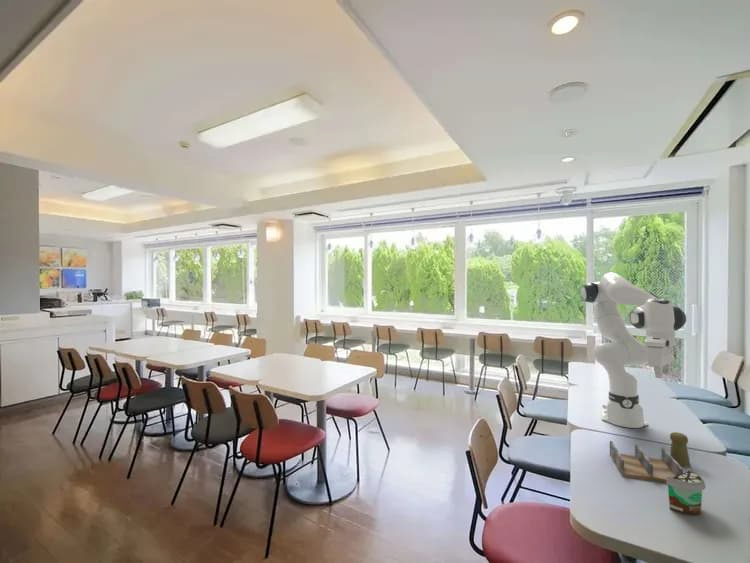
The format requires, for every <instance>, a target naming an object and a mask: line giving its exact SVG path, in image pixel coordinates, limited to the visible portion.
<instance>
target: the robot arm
mask: <svg viewBox="0 0 750 563" xmlns="http://www.w3.org/2000/svg"><path fill="white" fill-rule="evenodd" d="M599 280H600V281H594V282H588V283H585V284H583V285H582V287H581V290H580V295H581V297H582V300H583V301H585V303H592V304H593V303H594V305H593V313H594V318H595V321H596V324H597V326H598V329H599V331H600V332H599V333H600V334H601V335H602V337H603V338H605V339H606V340H610V341H611V342H603V343H598V344H596V345H594V348H593V350H592V355H593V358H594V360H595V361H596V362H597V364H599V365H601V366H602V367H603V369H605V371H606V373H607V375H608V381H609V391H608V399H607V400H606V401H605V402H606V403H602V409H601V414H600V415H601V418H600V419H601V421H604V422H608V423H610V424H613V425H616V426H619V427H622V428H630V429H640V428H643V427H644V426H645V427H647V426H649V423H648V422H647V421H645V415H644V408H643V407H642V406H641V404H639V403H640V398H639V396H640V395H639V394H638V393H639V392H638V380H637V377H635V376H634V375H633V374H631V373H629V372H627V371H626V370H625V366H642V365H643V366H644V365H648V367H651V368H653V372H654V375H655V376H654V377H655V378H657V379H662V378H663V375H668V374H670V366H671V363H673V362H674V360H675V354H674V353H675V352H674V347H675V346H676V345H677V341H676V331H679V330H681V329H682V328H683V327H684V326H685V325H686V323H687V316H686V313H685V312H684V311H683V310H682V309H681V308H680V307H679V306H677V305H674V304H673V303H672V302H671V300H669V299H665V298H660V297H658V296H657V295H656V294H654V293H651V292H650V291H648V290H645V289H643V288H641V287H639V286H636V285H635V284H633V283H632V282H630V281H629V280H628V279H626V278H625V277H623V276H622V275H620V274H618V273H615V272H608V273H605V274H603V275H602V276H601V278H600V279H599ZM617 304H618V305H624V306H625V305H627V306H629V305H630V306H635V307H634V308H633V309H631V311H630V312H629V322H630V325H632V326H633V327H634V328H636V329H637V330H638V329H639V330H646V332H645V335H646V336H645V339H644V340H643V341H644V342H642V341H640V340H638V339H637V338H636V337H634V335H633V334H631V333H630V331H629V329H628V328H627V327H626V325H625V322H624V321H623V319H622V317H621V316H622V315H621V314H620V311H619V309H618V307H617ZM636 306H637V307H636Z"/></svg>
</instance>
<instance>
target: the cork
mask: <svg viewBox="0 0 750 563" xmlns="http://www.w3.org/2000/svg"><path fill="white" fill-rule="evenodd" d="M669 439H670V441H671V444H670V453H669V454H670V455H671V456H672V457H673V458H674V459H675V460H676V462H677V463H678V464H679V465H680V466H681V467H682V468H690V467H691V462H690V457H689V453H688V448H687V447H688V446H687V444H688V443H689V438H688V436H687V435H685V434H684V433H681V432H675V431H673V432H671V433H670V434H669Z"/></svg>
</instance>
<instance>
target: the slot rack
mask: <svg viewBox="0 0 750 563" xmlns="http://www.w3.org/2000/svg"><path fill="white" fill-rule="evenodd" d="M660 451H661V455H660V456H661V458H654V457H653V458H652V457H648V456H647V455H646V454H645V452H644V451H643V450H642V449H641V447H640V446H639V444H634V455H631V454H625V453H620V452H619V450H618V449H617V447H616V445H615V443H614V442H613V441H612V440H609V456H610V458H611V460H612V461H613V463H614V464H615V467H616V469H617V471H618V472H619V474H620V475H621V477H624V478H632V479H637V480H638V479H639V480H643V481H644V480H645V481H650V482H656V483H664V484H666V482H667V477H670V478H673V477H675V476H676V475H678V474H682V473H684V467H681V466H680V465H679V464H678V463H677V462H676V460H675V459H674V458H673V457H672V456H671V455H670V453H669V452H668V451H667V449H666V448H665V447H661V450H660Z"/></svg>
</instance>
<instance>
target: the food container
mask: <svg viewBox="0 0 750 563" xmlns="http://www.w3.org/2000/svg"><path fill="white" fill-rule="evenodd" d="M665 485H667V491H668V501H669V510H671V511H673V512H676V513H678V514H681V515H685V516H692V517H693V516H694V517H695V516H699V515H701V513H702V501H703V498H702V497H703V490H705V489H706V483H705V480H704V478H703V476H702V475H701V474H699V473H698V472H697V471H695V470H693V469H691V468H690V467H687V471H686V472H683V473H682V474H678V475H676V476H675V477H673V478H670V477H667V482H666V483H665Z"/></svg>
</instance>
